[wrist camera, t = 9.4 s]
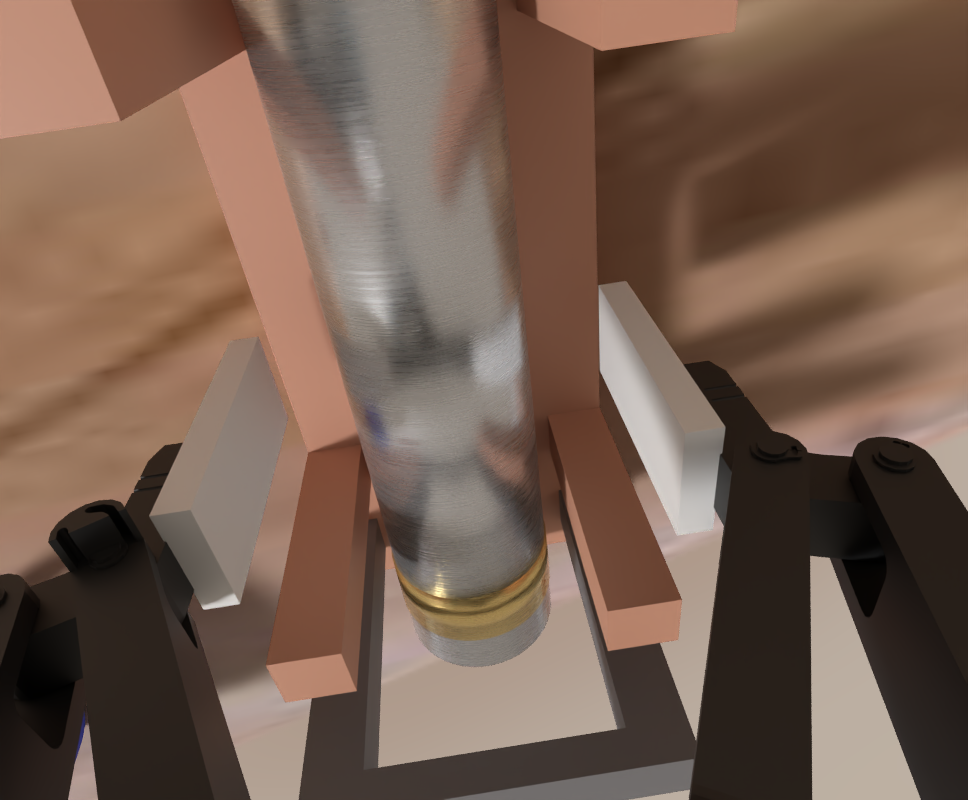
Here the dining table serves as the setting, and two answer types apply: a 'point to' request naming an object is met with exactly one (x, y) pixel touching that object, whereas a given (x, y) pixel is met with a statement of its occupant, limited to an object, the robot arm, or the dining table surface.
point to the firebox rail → (322, 397)
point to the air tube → (419, 291)
